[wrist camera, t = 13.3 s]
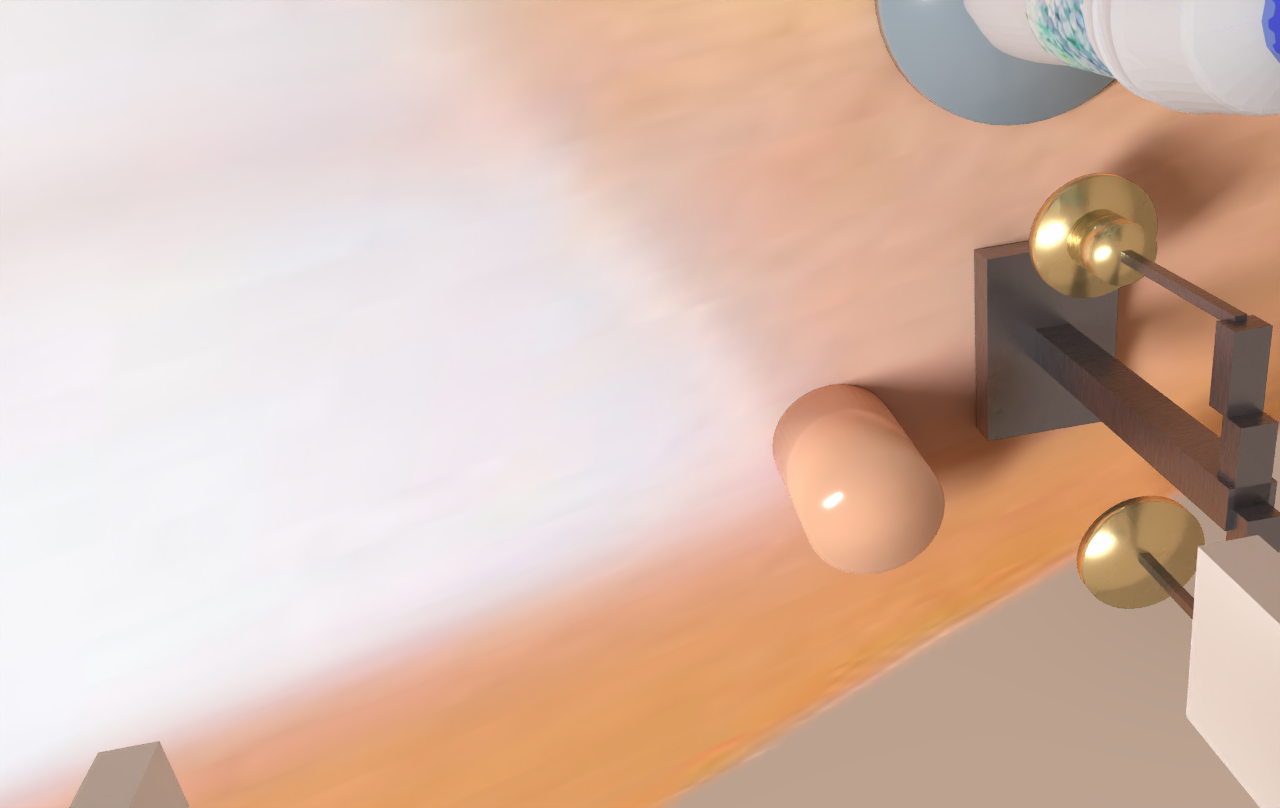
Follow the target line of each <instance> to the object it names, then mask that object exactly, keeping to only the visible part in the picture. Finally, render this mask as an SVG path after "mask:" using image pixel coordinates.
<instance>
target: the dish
mask: <svg viewBox="0 0 1280 808" xmlns="http://www.w3.org/2000/svg"><path fill="white" fill-rule="evenodd" d="M875 7H876V15H877V19H878V23H879V28H880V32H881V35H882V37H883V40H884V43H885V45H886V48H887V50H888V52H889V54H890V56H891V58H892V60H893V61H894V63H895V65H896V67H897V68H898V70H899V71H900V72H901V73H902V75H903V76H904V77H905V79H906V80H907V81H908V82H909V83H910V84H911V85H912V86H913V87H914V88H915V89H916V90H917V91H918V92H919V93H920V94H921V95H922V96H924V97H925V98H927V99H928V100H929V101H931V102H932V103H934V104H935V105H937V106H939V107H941V108H943V109H945V110H947V111H949V112H951V113H953V114H955V115H957V116H960V117H963V118H966V119H969V120H972V121H975V122H980V123H986V124H991V125H1019V124H1029V123H1033V122H1037V121H1042V120H1046V119H1049V118H1052V117H1054V116H1057V115H1060V114H1062V113H1065V112H1067V111H1069V110H1071V109H1073V108H1075V107H1077V106H1079V105H1081V104H1082V103H1084V102H1085V101H1087V100H1088V99H1090V98H1091V97H1093V96H1094V95H1096V94H1097V93H1099V92H1100V91H1101V90H1102V89H1104V88H1105V87H1106V86H1107V85H1108V84H1110V83H1111V82H1112V81H1113V80H1114V79H1115V78H1111V77H1107V76H1104V75H1100V74H1096V73H1093V72H1089V71H1085V70H1082V69H1078V68H1075V67H1071V66H1064V65H1053V64H1045V63H1037V62H1032V61H1028V60H1024V59H1020V58H1017V57H1013V56H1011V55H1008V54H1006V53H1004V52H1002V51H1000V50H998V49H997V48H995V47H994V46H993V45H992V44H991V43H990V42H989V40H988V39H987V38H986V37H985V36H984V35H983V33H982V32H981V31H980V29H979V28H978V26H977V25H976V23H975V22H974V20H973V19H972V17H971V16H970V15H969V13H968V12H967V10H966V8H965V6H964V3H963V0H875Z"/></svg>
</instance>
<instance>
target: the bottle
mask: <svg viewBox="0 0 1280 808" xmlns="http://www.w3.org/2000/svg"><path fill="white" fill-rule="evenodd" d="M963 3H964V6H965V8H966V10H967V12H968V13H969V15H970V16H971V17H972V19H973V20H974V22H975V23H976V25H977V26H978V28H979V29H980V31H981V32H982V33H983V35H984V36H985V37H986V38H987V39H988V40H989V42H990V43H991V44H992V45H993V46H994V47H995V48H997V49H998V50H1000V51H1002V52H1004V53H1006V54H1008V55H1011V56H1013V57H1017V58H1020V59H1024V60H1028V61H1032V62H1037V63H1045V64H1053V65H1064V66H1071V67H1075V68H1078V69H1082V70H1085V71H1089V72H1093V73H1096V74H1100V75H1104V76H1107V77H1111V78H1115V79H1117V80H1118V81H1119V82H1120V83H1121V84H1122V85H1123V86H1124V87H1125V88H1127V89H1128V90H1129V91H1131V92H1132V93H1134V94H1136V95H1138V96H1140V97H1142V98H1144V99H1147V100H1150V101H1153V102H1156V103H1157V104H1159V105H1161V106H1164V107H1166V108H1168V109H1171V110H1175V111H1179V112H1183V113H1192V114H1210V113H1216V114H1235V115H1255V116H1266V115H1277V114H1280V0H963Z"/></svg>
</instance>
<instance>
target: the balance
mask: <svg viewBox="0 0 1280 808" xmlns="http://www.w3.org/2000/svg"><path fill="white" fill-rule="evenodd" d="M1156 235H1157V215H1156V211H1155V207H1154V205H1153V203H1152V201H1151V199H1150V197H1149V196H1148V194H1147V193H1146V192H1145V191H1144V190H1143V189H1142V188H1141V187H1140V186H1138V185H1137V184H1135V183H1133V182H1131V181H1130V180H1127V179H1125V178H1123V177H1120V176H1117V175H1114V174H1108V173H1095V174H1089V175H1084V176H1081V177H1078V178H1076V179H1074V180H1072V181H1070V182H1068V183H1066V184H1065V185H1063V186H1061V187H1060V188H1059V189H1058V190H1056V191H1055V192H1054V193H1053V194H1052V195H1051V196H1050V197H1049V198H1048V199H1047V200H1046V201H1045V203H1044V204H1043V205H1042V207H1041V208H1040V210H1039V212H1038V213H1037V215H1036V217H1035V219H1034V222H1033V225H1032V228H1031V232H1030V237H1029V241H1024V242H1018V243H1012V244H1006V245H1000V246H994V247H988V248H982V249H976V250H974V265H975V345H976V425H977V428H978V429H979V431H980V432H981V433H982V434H983V435H984V436H985V437H986V439H987V440H988V441H990V440H996V439H1001V438H1007V437H1013V436H1019V435H1025V434H1031V433H1037V432H1043V431H1049V430H1055V429H1060V428H1066V427H1072V426H1078V425H1084V424H1090V423H1096V422H1103V423H1104V424H1105V425H1106V426H1108V427H1109V428H1110V429H1111V430H1112V431H1113V432H1114V433H1115V434H1117V435H1118V436H1119V437H1120V438H1121V439H1122V440H1123V441H1124V442H1125V443H1127V444H1128V445H1129V446H1130V447H1131V448H1132V449H1133V450H1134V451H1136V452H1137V453H1138V454H1139V455H1140V456H1141V457H1142V458H1143V459H1145V460H1146V461H1147V462H1148V463H1149V464H1150V465H1151V466H1152V467H1154V468H1155V469H1156V470H1157V471H1158V472H1159V473H1160V474H1161V475H1163V476H1164V477H1165V478H1166V479H1167V480H1168V481H1169V482H1170V483H1171V484H1173V485H1174V486H1175V487H1176V488H1177V489H1178V490H1179V491H1180V492H1182V493H1183V494H1184V495H1185V496H1186V497H1188V499H1189V500H1191V501H1192V502H1193V503H1194V504H1195V505H1196V506H1197V507H1198V508H1200V509H1201V510H1202V511H1203V512H1204V513H1205V514H1206V515H1207V516H1209V517H1210V518H1211V519H1212V520H1213V521H1214V522H1215V523H1216V524H1217V525H1219V526H1220V527H1221V528H1222V529H1223V530H1224V531H1227V536H1226V541H1228V540H1234V539H1239V538H1244V537H1250V536H1255V535H1259V536H1260V537H1261V538H1262V539H1263V540H1264V541H1266V542H1267V543H1268V544H1269V545H1270V546H1271V547H1273V548H1274V549H1275V550H1276V551H1277V552H1278V553H1279V552H1280V512H1279V511H1278V510H1276V509H1275V508H1274V504H1275V495H1276V487H1277V481H1276V480H1275V479H1273V478H1272V472H1273V464H1274V455H1275V447H1276V439H1277V431H1278V422H1277V421H1276V420H1274V419H1273V418H1272V417H1270V416H1269V415H1267V414H1266V413H1264V412H1263V407H1264V398H1265V390H1266V381H1267V372H1268V363H1269V354H1270V345H1271V337H1272V328H1273V326H1272V325H1270V324H1269V323H1267V322H1265V321H1263V320H1261V319H1260V318H1258V317H1256V316H1254V315H1250V316H1247V314H1246V313H1244V312H1242V311H1240V310H1239V309H1237V308H1235V307H1233V306H1231V305H1230V304H1228V303H1226V302H1224V301H1222V300H1221V299H1219V298H1217V297H1215V296H1213V295H1212V294H1210V293H1208V292H1206V291H1204V290H1203V289H1201V288H1199V287H1197V286H1195V285H1194V284H1192V283H1190V282H1188V281H1186V280H1185V279H1183V278H1181V277H1179V276H1177V275H1176V274H1174V273H1172V272H1170V271H1168V270H1167V269H1165V268H1163V267H1161V266H1160V265H1158V264H1156V263H1154V261H1155V259H1156V255H1157V243H1156ZM1143 276H1146V277H1148V278H1149V279H1151V280H1153V281H1154V282H1156V283H1158V284H1160V285H1161V286H1163V287H1165V288H1166V289H1168V290H1170V291H1171V292H1173V293H1175V294H1177V295H1178V296H1180V297H1182V298H1183V299H1185V300H1187V301H1189V302H1190V303H1192V304H1194V305H1195V306H1197V307H1199V308H1200V309H1202V310H1204V311H1206V312H1207V313H1209V314H1211V315H1212V316H1214V317H1216V318H1217V319H1219V320H1221V321H1217V324H1216V335H1215V346H1214V357H1213V368H1212V379H1211V391H1210V402H1209V405H1210V406H1211V407H1212V408H1214V409H1215V410H1217V411H1218V412H1219V413H1221V414H1222V415H1223V423H1222V433H1221V438H1220V437H1218V436H1217V435H1216V434H1214V433H1213V432H1212V431H1210V430H1209V429H1208V428H1206V427H1205V426H1204V425H1202V424H1201V423H1200V422H1199V421H1197V420H1196V419H1195V418H1193V417H1192V416H1191V415H1189V414H1188V413H1187V412H1185V411H1184V410H1183V409H1181V408H1180V407H1179V406H1178V405H1176V404H1175V403H1174V402H1172V401H1171V400H1170V399H1168V398H1167V397H1166V396H1164V395H1163V394H1162V393H1160V392H1159V391H1158V390H1156V389H1155V388H1154V387H1153V386H1151V385H1150V384H1149V383H1147V382H1146V381H1145V380H1143V379H1142V378H1141V377H1139V376H1138V375H1137V374H1135V373H1134V372H1133V371H1131V370H1130V369H1129V368H1128V367H1126V366H1125V365H1124V364H1122V363H1121V362H1120V361H1118V360H1117V359H1116V358H1115V353H1116V332H1117V311H1118V290H1119V288H1120V287H1121V286H1125V285H1129V284H1132V283H1134V282H1136V281H1138V280H1140V279H1141V278H1142V277H1143ZM1202 545H1204V533H1203V530H1202V527H1201V526H1200V524H1199V522H1198V521H1197V519H1196V518H1195V517H1194V516H1193V515H1192V514H1191V513H1190V512H1189V511H1188V510H1187V509H1185V508H1184V507H1183V506H1182V505H1181V504H1179V503H1178V502H1176V501H1174V500H1171V499H1169V498H1165V497H1160V496H1142V497H1137V498H1132V499H1129V500H1126V501H1123V502H1121V503H1119V504H1117V505H1115V506H1113V507H1112V508H1110V509H1108V510H1107V511H1106V512H1104V513H1103V514H1102V515H1101V516H1099V517H1098V518H1097V519H1096V520H1095V521H1094V522H1093V524H1092V525H1091V526H1090V527H1089V529H1088V530H1087V531H1086V533H1085V535H1084V536H1083V538H1082V540H1081V543H1080V545H1079V549H1078V553H1077V568H1078V572H1079V575H1080V578H1081V579H1082V581H1083V583H1084V584H1085V585H1086V586H1087V588H1088V589H1089V590H1090V591H1091V593H1092V594H1093V595H1094V596H1095V597H1096V598H1097V599H1099V600H1100V601H1102V602H1103V603H1105V604H1107V605H1110V606H1113V607H1117V608H1125V609H1130V608H1131V609H1133V608H1141V607H1146V606H1150V605H1153V604H1156V603H1158V602H1160V601H1162V600H1164V599H1166V598H1168V597H1169V596H1171V597H1172V598H1173V599H1174V600H1175V601H1176V602H1177V603H1178V605H1179V606H1180V607H1181V608H1182V609H1183V610H1184V611H1185V612H1186V613H1187V614H1188V615H1189V616H1190V617H1191V618H1192V620H1193V609H1194V598H1193V597H1192V596H1191V595H1190V594H1189V593H1188V592H1187V591H1186V590H1185V589H1184V588H1183V586H1184V585H1185V584H1186V583H1187V582H1188V581H1189V580H1190V578H1191V577H1192V575H1193V574H1194V573H1195V571H1196V566H1197V552H1198V546H1202Z"/></svg>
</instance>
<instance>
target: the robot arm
mask: <svg viewBox="0 0 1280 808" xmlns="http://www.w3.org/2000/svg"><path fill="white" fill-rule="evenodd" d="M1191 639H1192V640H1191V653H1190V667H1189V682H1188V696H1187V710H1186V717H1187V718H1188V719H1189V720H1190V722H1191V723H1192V724H1193V725H1194V727H1195V728H1196V729H1197V730H1198V732H1199V733H1200V734H1201V735H1202V737H1203V738H1204V739H1205V740H1206V741H1207V743H1208V744H1209V745H1210V746H1211V747H1212V749H1213V750H1214V751H1215V752H1216V754H1217V755H1218V756H1219V758H1220V759H1221V760H1222V761H1223V762H1224V764H1225V765H1226V766H1227V767H1228V769H1229V770H1230V771H1231V772H1232V773H1233V775H1234V776H1235V777H1236V778H1237V780H1238V781H1239V782H1240V783H1241V785H1242V786H1243V787H1244V788H1245V790H1246V791H1247V792H1248V793H1249V794H1250V796H1251V797H1252V798H1253V799H1254V801H1255V802H1256V803H1257V804H1258V805H1259V807H1260V808H1280V553H1278V552H1277V551H1276V550H1275V549H1274V548H1273V547H1271V546H1270V545H1269V544H1268V543H1267V542H1266V541H1264V540H1263V539H1262V538H1261V537H1260V536H1259V535H1255V536H1250V537H1244V538H1239V539H1234V540H1228V541H1223V542H1218V543H1213V544H1207V545H1202V546H1198V552H1197V566H1196V582H1195V596H1194V609H1193V624H1192V638H1191ZM69 808H190V807H189V804H188V802H187V800H186V798H185V796H184V794H183V791H182V789H181V787H180V785H179V783H178V781H177V778H176V776H175V774H174V772H173V770H172V768H171V765H170V763H169V761H168V759H167V757H166V755H165V752H164V750H163V748H162V746H161V744H160V742H159V741H158V742H153V743H148V744H142V745H137V746H132V747H126V748H121V749H116V750H110V751H105V752H100V753H98V754H97V756H96V758H95V760H94V762H93V763H92V765H91V767H90V769H89V771H88V773H87V775H86V777H85V779H84V780H83V782H82V784H81V786H80V788H79V790H78V792H77V794H76V796H75V797H74V799H73V801H72V803H71V805H70V807H69Z"/></svg>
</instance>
